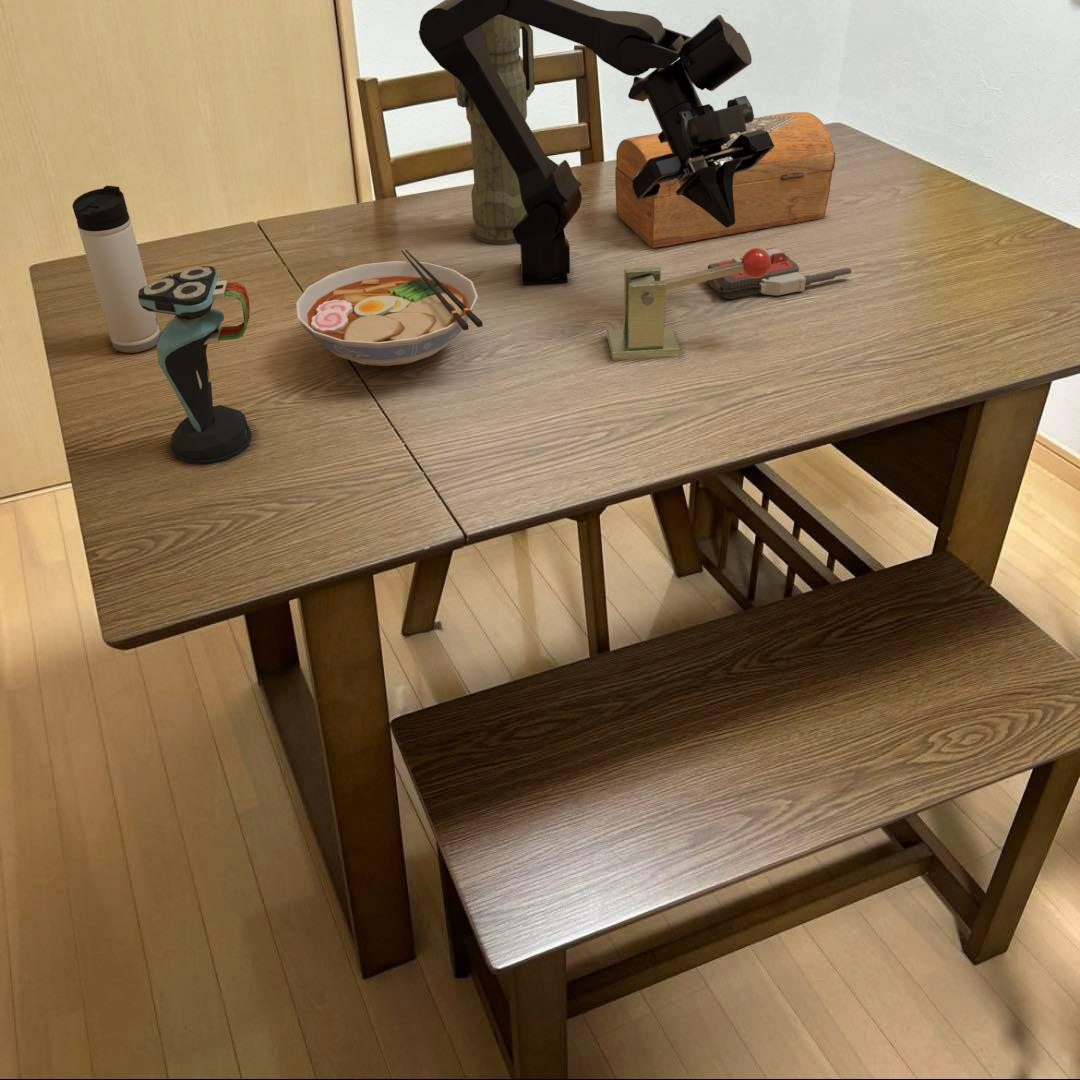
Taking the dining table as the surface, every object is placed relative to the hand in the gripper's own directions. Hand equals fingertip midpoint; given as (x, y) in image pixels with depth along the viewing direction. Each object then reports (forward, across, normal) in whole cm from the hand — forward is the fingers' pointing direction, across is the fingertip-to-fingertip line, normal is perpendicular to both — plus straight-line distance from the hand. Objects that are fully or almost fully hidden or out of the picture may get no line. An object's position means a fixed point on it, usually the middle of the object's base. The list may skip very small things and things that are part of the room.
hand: (731, 225), depth 140 cm
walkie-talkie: (+6, +14, +14) cm, 20 cm away
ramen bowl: (-4, -39, +23) cm, 46 cm away
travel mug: (-20, -66, +39) cm, 79 cm away
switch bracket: (+9, -12, +11) cm, 18 cm away
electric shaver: (+2, -65, +18) cm, 67 cm away
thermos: (-21, -8, +40) cm, 46 cm away
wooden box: (-11, +23, +30) cm, 39 cm away
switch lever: (+6, -6, +3) cm, 9 cm away
